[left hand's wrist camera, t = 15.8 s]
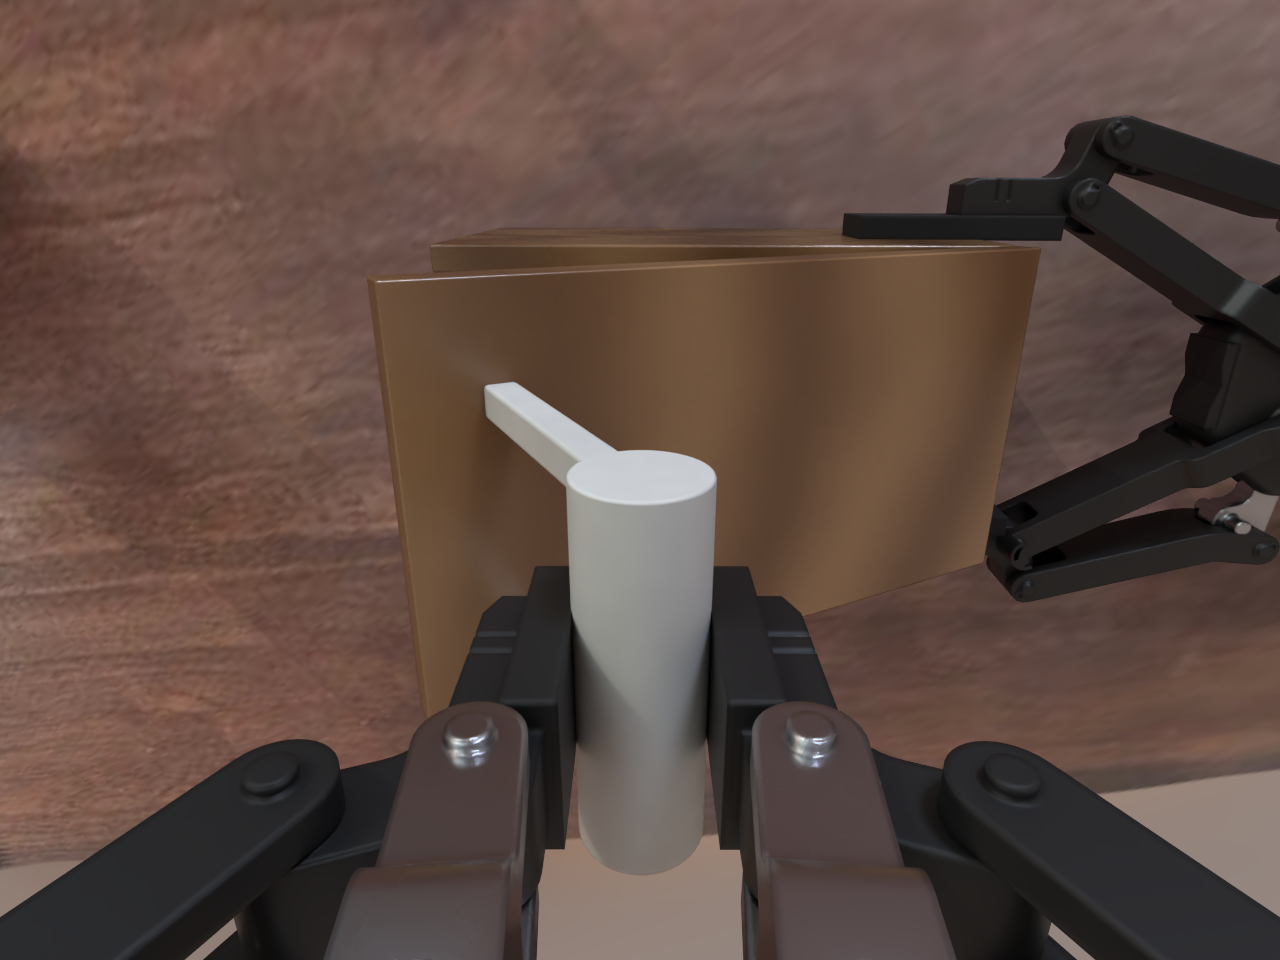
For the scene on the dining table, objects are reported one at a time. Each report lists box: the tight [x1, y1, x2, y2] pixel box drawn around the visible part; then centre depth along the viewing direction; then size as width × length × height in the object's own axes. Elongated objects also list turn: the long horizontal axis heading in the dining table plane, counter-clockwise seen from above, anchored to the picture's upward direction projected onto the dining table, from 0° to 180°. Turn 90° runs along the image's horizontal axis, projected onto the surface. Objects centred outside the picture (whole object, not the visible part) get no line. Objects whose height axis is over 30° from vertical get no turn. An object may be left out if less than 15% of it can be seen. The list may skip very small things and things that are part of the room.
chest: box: [430, 228, 1014, 273], centre depth 29 cm, size 17×10×10 cm, turn 90°
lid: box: [367, 246, 1041, 875], centre depth 16 cm, size 18×10×8 cm, turn 91°
